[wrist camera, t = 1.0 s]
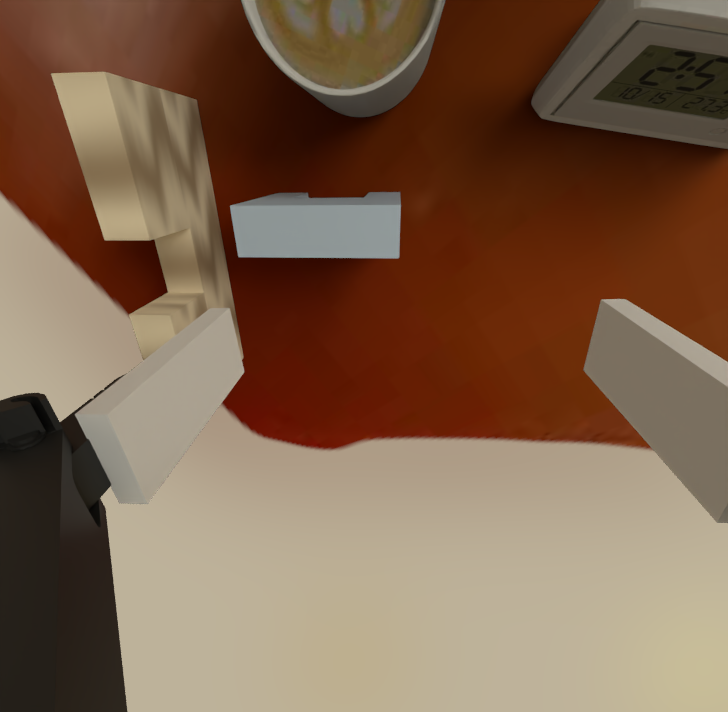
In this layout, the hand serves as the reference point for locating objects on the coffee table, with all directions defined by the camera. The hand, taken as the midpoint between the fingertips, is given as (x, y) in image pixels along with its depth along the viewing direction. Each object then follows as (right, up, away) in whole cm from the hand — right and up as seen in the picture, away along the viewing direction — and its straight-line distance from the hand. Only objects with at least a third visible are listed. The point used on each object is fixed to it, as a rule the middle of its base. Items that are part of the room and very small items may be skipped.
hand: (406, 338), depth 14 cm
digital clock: (+18, +18, +12) cm, 28 cm away
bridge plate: (-4, +11, +17) cm, 21 cm away
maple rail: (-16, +9, +20) cm, 27 cm away
